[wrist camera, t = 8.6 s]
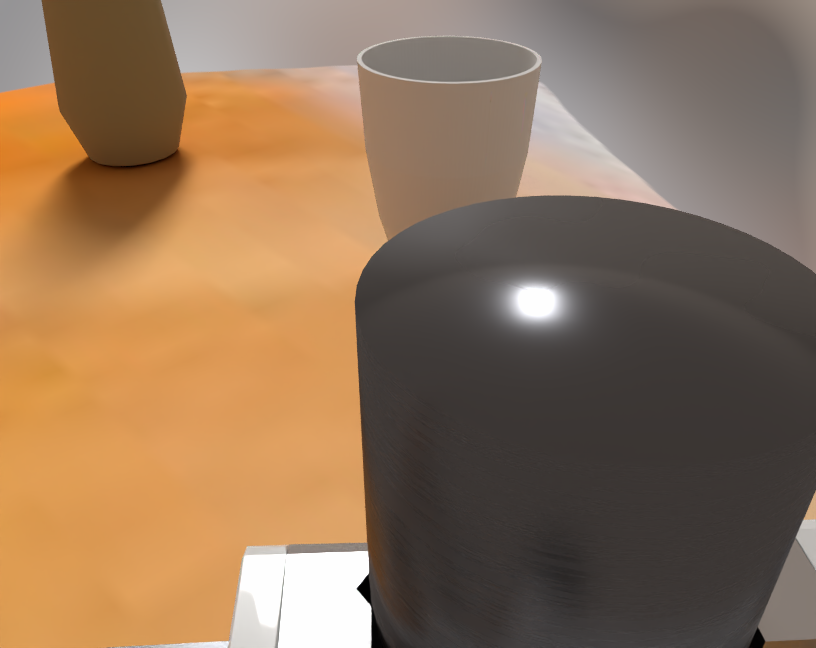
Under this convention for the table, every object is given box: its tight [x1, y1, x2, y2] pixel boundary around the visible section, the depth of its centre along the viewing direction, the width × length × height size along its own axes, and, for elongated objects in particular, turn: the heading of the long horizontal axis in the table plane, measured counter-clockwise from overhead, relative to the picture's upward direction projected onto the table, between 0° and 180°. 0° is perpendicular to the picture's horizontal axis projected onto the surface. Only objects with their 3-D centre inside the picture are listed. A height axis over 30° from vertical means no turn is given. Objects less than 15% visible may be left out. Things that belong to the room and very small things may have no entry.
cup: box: [357, 36, 542, 241], centre depth 35 cm, size 8×8×10 cm
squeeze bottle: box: [42, 0, 187, 166], centre depth 46 cm, size 8×8×18 cm
